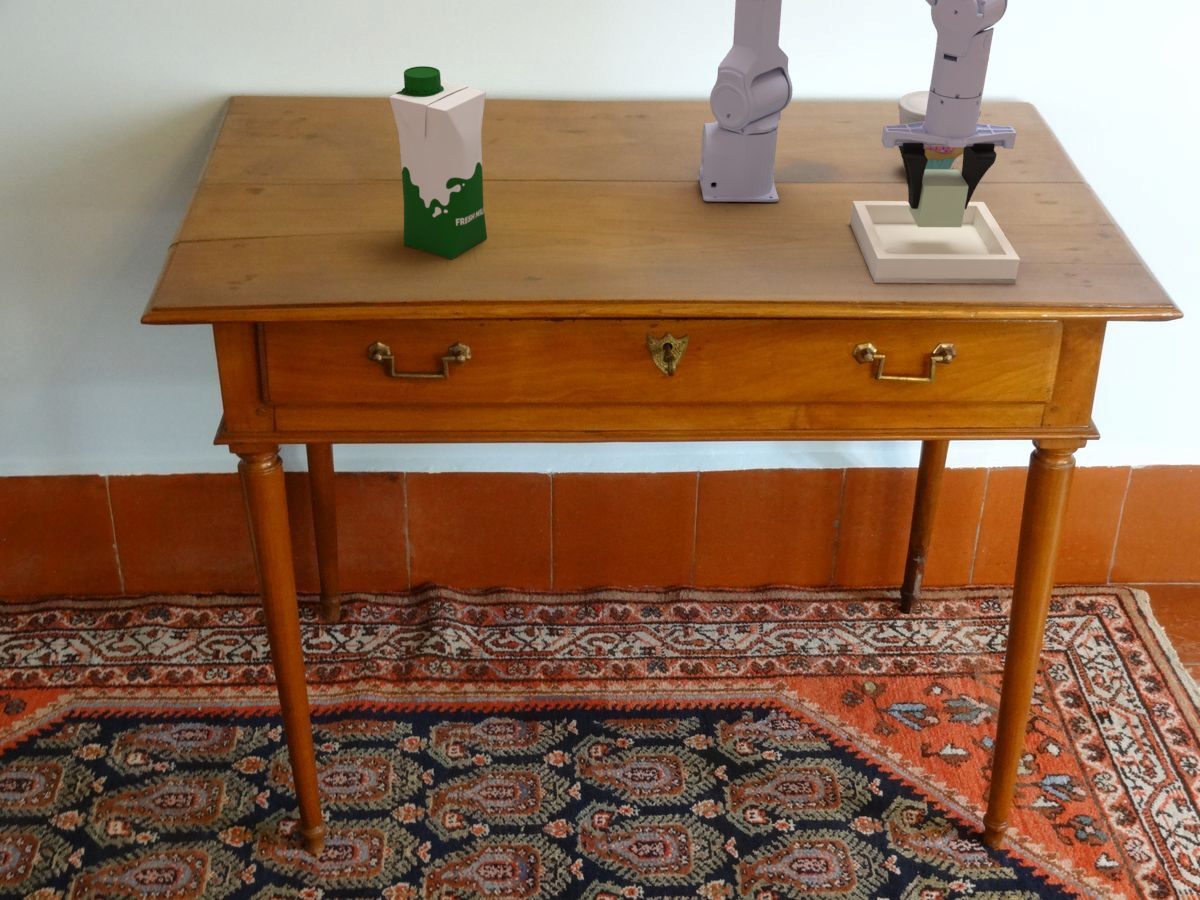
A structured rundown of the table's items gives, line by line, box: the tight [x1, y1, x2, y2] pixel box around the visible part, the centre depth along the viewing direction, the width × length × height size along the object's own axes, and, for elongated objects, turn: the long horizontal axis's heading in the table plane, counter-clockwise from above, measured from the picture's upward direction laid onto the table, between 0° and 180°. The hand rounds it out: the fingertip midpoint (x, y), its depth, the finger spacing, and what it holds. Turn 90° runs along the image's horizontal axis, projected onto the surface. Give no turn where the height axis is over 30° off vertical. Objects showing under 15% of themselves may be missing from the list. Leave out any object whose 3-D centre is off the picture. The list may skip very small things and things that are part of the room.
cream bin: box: [849, 200, 1021, 285], centre depth 158 cm, size 16×16×3 cm
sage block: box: [909, 169, 969, 227], centre depth 155 cm, size 5×5×5 cm
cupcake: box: [918, 120, 964, 170], centre depth 176 cm, size 9×8×12 cm
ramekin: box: [897, 90, 982, 125], centre depth 189 cm, size 11×11×5 cm
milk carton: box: [389, 65, 488, 260], centre depth 154 cm, size 9×9×20 cm
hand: (937, 205), depth 156 cm, fingers closed on sage block, 5 cm apart
